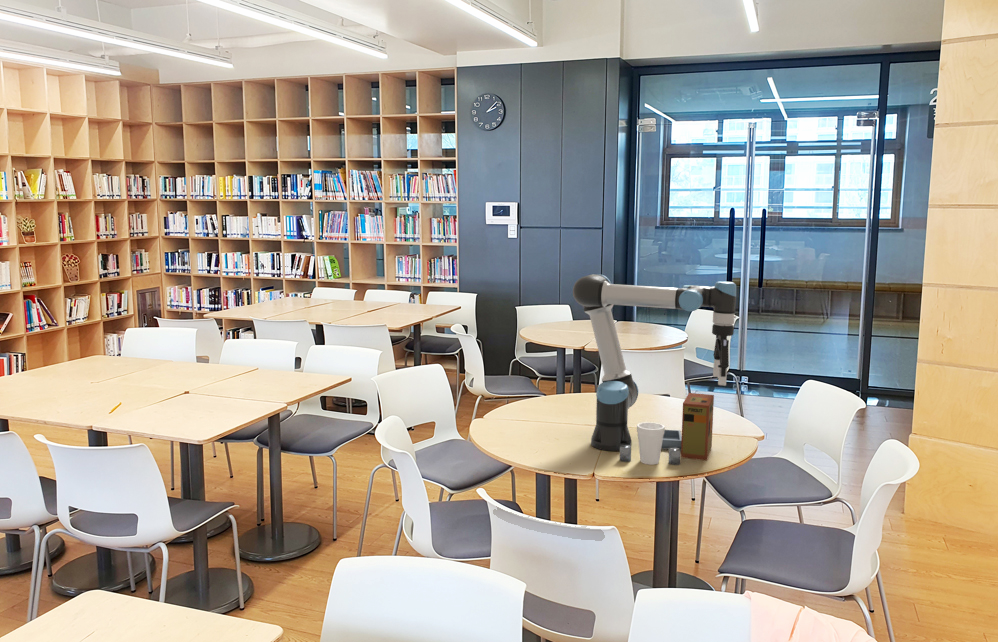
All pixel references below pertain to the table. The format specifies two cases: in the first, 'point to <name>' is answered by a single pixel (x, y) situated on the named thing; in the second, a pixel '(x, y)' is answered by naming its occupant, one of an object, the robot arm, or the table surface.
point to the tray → (671, 439)
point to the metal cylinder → (625, 453)
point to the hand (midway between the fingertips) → (719, 380)
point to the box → (697, 426)
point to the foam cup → (650, 441)
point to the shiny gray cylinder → (674, 456)
